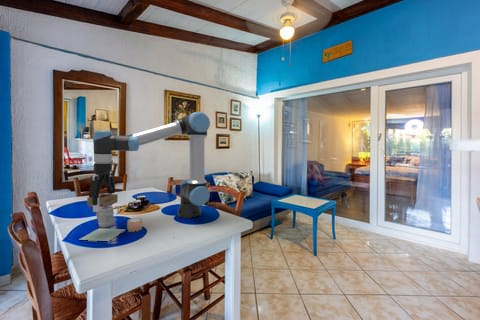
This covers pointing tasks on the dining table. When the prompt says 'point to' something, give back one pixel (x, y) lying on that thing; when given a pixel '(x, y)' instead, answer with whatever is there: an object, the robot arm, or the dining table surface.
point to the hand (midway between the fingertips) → (103, 208)
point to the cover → (104, 200)
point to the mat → (102, 234)
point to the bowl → (134, 224)
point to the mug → (105, 216)
